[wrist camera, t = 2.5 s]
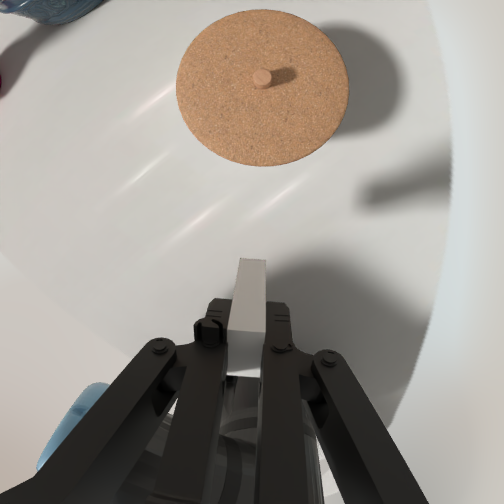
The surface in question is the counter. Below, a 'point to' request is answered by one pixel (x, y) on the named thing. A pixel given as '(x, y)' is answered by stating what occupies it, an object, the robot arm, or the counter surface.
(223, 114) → the lidded jar
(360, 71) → the counter surface
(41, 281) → the counter surface
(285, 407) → the robot arm
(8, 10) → the canister
